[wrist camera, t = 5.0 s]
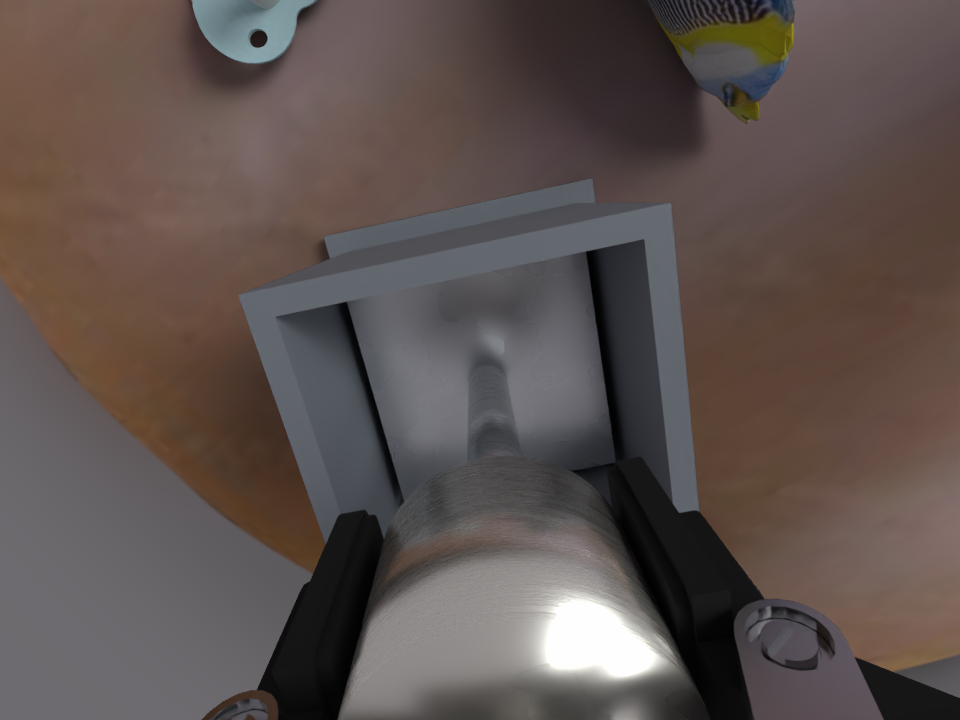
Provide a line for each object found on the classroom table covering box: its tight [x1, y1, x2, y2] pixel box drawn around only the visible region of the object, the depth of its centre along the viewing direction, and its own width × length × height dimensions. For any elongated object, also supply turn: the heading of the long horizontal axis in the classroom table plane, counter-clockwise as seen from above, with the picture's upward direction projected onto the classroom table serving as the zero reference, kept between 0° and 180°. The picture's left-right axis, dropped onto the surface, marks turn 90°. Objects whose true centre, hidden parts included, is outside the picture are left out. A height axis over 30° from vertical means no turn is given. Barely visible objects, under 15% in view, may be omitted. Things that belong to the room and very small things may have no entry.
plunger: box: [337, 251, 711, 720], centre depth 14 cm, size 9×9×16 cm
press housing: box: [238, 178, 699, 544], centre depth 22 cm, size 14×14×14 cm
